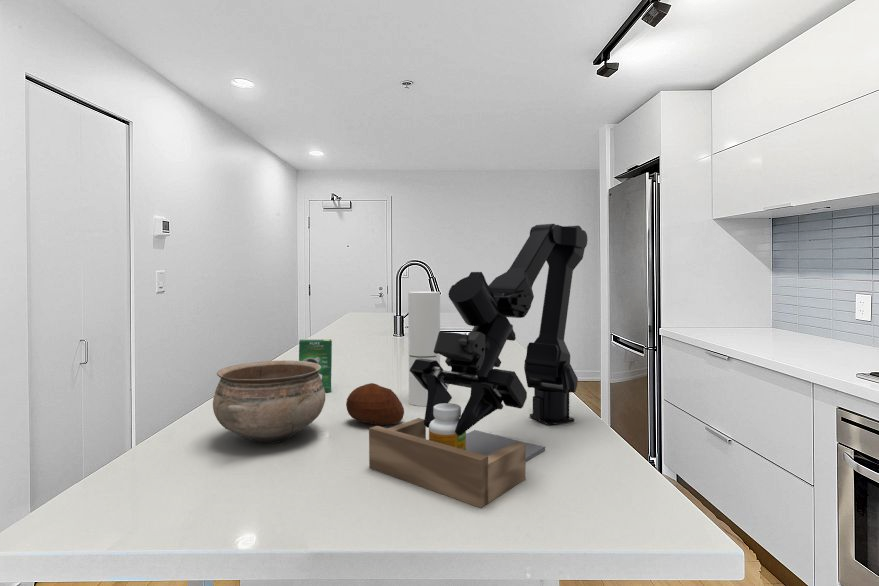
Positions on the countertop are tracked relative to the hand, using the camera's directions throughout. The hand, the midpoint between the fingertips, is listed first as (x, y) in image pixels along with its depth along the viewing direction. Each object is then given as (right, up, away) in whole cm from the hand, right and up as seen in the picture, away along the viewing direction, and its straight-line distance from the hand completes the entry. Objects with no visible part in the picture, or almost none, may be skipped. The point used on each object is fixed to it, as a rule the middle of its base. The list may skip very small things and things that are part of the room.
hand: (441, 429), depth 71 cm
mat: (+8, -6, +10) cm, 14 cm away
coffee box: (-31, -5, +51) cm, 60 cm away
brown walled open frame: (+1, -7, +1) cm, 7 cm away
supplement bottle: (+1, -7, +1) cm, 7 cm away
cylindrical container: (-4, -5, +41) cm, 42 cm away
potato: (-13, -6, +25) cm, 29 cm away
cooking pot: (-30, -6, +17) cm, 35 cm away
